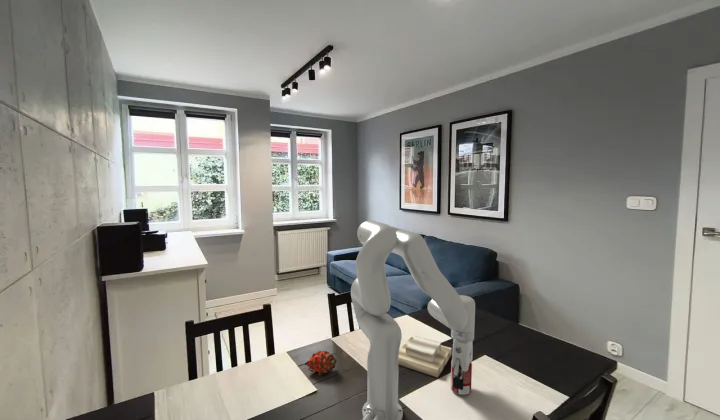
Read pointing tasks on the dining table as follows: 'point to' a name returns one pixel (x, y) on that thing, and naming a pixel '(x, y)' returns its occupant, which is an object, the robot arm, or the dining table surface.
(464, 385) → the soda can
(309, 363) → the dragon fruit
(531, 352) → the dining table surface
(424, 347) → the birch riser
